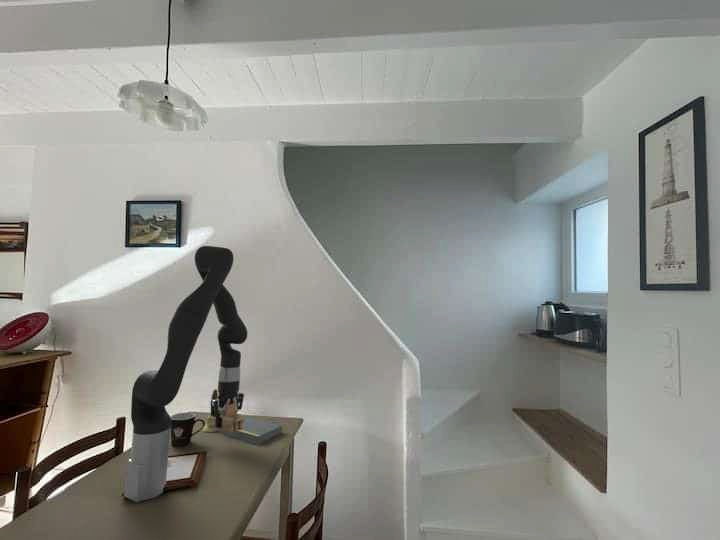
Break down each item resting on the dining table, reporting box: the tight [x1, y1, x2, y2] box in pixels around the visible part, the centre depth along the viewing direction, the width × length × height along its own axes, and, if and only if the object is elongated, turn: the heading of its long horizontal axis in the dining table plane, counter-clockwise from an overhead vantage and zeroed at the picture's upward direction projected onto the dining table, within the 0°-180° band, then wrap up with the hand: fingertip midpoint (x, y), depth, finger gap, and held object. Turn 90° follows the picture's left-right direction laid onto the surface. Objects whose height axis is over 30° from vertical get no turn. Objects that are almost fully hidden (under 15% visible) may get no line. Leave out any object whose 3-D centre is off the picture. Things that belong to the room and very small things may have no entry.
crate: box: [219, 403, 235, 417], centre depth 130 cm, size 4×4×4 cm
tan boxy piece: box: [208, 412, 245, 434], centre depth 130 cm, size 6×11×5 cm, turn 63°
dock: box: [223, 417, 283, 446], centre depth 143 cm, size 14×18×3 cm
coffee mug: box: [170, 411, 206, 448], centre depth 132 cm, size 12×9×10 cm
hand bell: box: [201, 389, 219, 433], centre depth 148 cm, size 8×8×16 cm
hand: (225, 425), depth 130 cm, fingers closed on tan boxy piece, 6 cm apart
